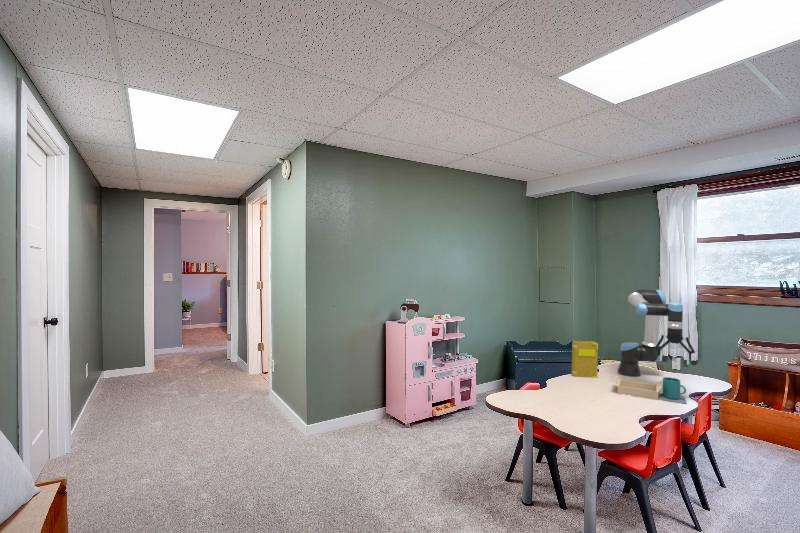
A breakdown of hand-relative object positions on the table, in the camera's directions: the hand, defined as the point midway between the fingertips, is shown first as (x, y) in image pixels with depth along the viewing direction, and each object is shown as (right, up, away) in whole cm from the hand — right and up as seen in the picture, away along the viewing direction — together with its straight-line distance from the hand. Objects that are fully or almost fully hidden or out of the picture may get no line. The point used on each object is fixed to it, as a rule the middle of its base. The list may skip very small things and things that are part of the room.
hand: (674, 362), depth 245 cm
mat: (0, -22, 0) cm, 22 cm away
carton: (-17, -22, +10) cm, 29 cm away
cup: (0, -22, 0) cm, 22 cm away
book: (-33, -22, +48) cm, 63 cm away
